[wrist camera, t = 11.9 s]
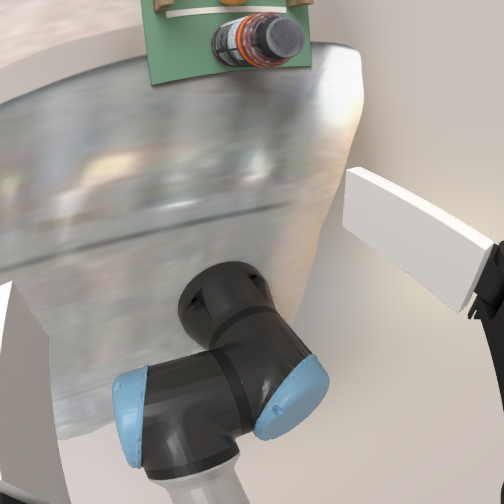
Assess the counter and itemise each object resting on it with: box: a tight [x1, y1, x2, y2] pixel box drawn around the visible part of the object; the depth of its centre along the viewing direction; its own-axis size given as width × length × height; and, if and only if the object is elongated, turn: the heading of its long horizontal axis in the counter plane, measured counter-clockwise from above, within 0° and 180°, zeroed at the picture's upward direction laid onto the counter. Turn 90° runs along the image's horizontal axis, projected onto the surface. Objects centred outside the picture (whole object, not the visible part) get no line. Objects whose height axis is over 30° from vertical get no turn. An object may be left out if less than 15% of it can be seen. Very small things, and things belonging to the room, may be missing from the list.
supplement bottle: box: [211, 12, 305, 68], centre depth 26 cm, size 6×6×11 cm
